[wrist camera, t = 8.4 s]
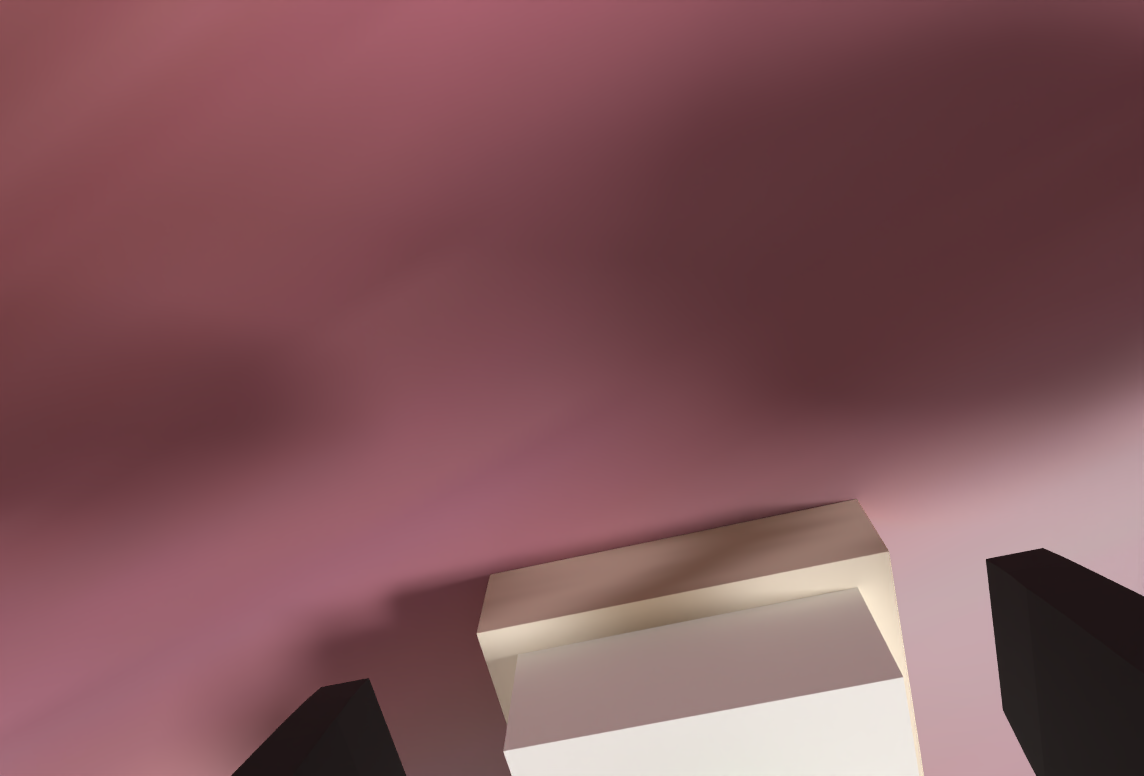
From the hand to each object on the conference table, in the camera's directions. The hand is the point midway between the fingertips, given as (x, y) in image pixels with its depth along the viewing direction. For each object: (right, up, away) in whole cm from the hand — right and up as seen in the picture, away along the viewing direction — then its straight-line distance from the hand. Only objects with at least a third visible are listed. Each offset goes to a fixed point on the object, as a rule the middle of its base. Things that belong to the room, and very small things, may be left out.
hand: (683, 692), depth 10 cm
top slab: (+2, -5, +10) cm, 11 cm away
